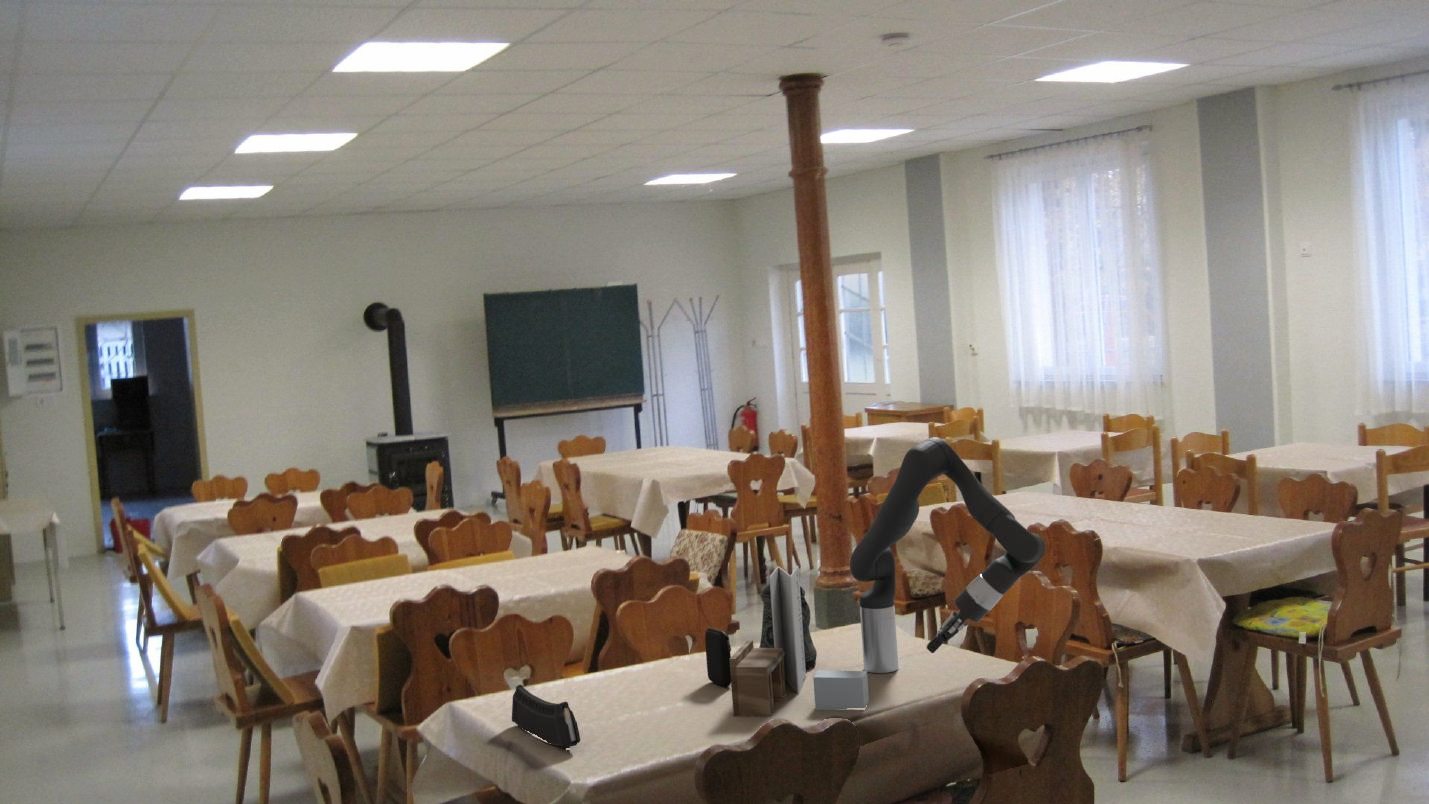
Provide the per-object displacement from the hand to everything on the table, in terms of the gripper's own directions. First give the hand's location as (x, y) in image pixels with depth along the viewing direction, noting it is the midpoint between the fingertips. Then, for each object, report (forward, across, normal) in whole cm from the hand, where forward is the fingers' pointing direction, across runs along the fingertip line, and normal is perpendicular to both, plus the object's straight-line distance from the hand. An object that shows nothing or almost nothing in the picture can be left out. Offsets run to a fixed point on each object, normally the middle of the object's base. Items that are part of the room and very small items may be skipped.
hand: (929, 649), depth 291 cm
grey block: (+25, 0, -6) cm, 26 cm away
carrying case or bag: (+50, -17, -30) cm, 61 cm away
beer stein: (+40, -36, -20) cm, 57 cm away
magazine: (+72, +28, -52) cm, 93 cm away
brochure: (+37, -17, -17) cm, 44 cm away
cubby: (+40, 0, -20) cm, 44 cm away
